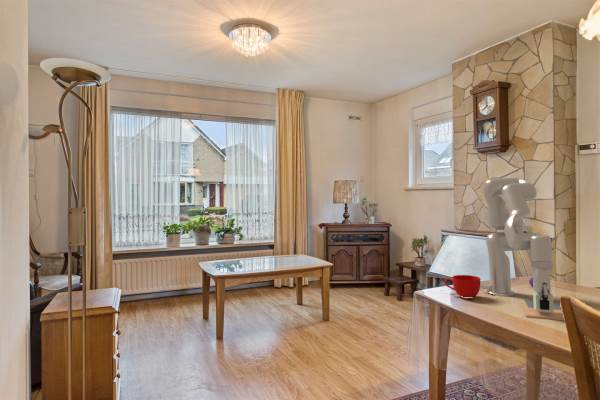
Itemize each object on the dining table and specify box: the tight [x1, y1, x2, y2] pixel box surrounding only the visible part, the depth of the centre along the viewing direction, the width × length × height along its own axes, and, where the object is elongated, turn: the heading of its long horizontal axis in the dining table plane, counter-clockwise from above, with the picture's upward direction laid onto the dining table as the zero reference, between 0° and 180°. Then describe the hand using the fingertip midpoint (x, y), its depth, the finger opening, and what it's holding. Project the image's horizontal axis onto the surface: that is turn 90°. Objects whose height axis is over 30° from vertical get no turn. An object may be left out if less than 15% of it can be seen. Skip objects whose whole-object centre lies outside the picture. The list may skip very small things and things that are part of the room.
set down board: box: [522, 308, 565, 321], centre depth 152 cm, size 14×10×1 cm
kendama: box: [528, 276, 533, 288], centre depth 202 cm, size 6×6×20 cm
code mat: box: [523, 299, 562, 311], centre depth 165 cm, size 16×14×1 cm
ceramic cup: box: [444, 274, 481, 298], centre depth 184 cm, size 13×17×10 cm
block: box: [532, 290, 555, 313], centre depth 152 cm, size 6×6×7 cm
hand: (543, 306), depth 152 cm, fingers closed on block, 5 cm apart
